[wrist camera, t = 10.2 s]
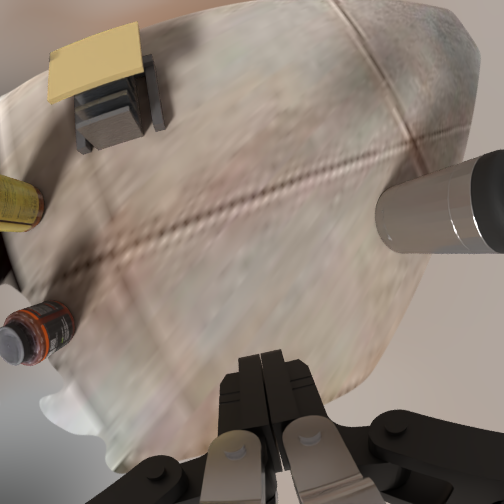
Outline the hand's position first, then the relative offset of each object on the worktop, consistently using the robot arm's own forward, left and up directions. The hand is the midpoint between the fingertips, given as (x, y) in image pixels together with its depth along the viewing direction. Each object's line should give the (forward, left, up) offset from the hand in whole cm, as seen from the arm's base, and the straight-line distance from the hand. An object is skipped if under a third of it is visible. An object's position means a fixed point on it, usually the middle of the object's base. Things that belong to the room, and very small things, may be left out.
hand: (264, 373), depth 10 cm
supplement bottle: (+22, -1, -25) cm, 34 cm away
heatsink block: (+9, -25, -25) cm, 36 cm away
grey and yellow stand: (+8, -25, -25) cm, 36 cm away
